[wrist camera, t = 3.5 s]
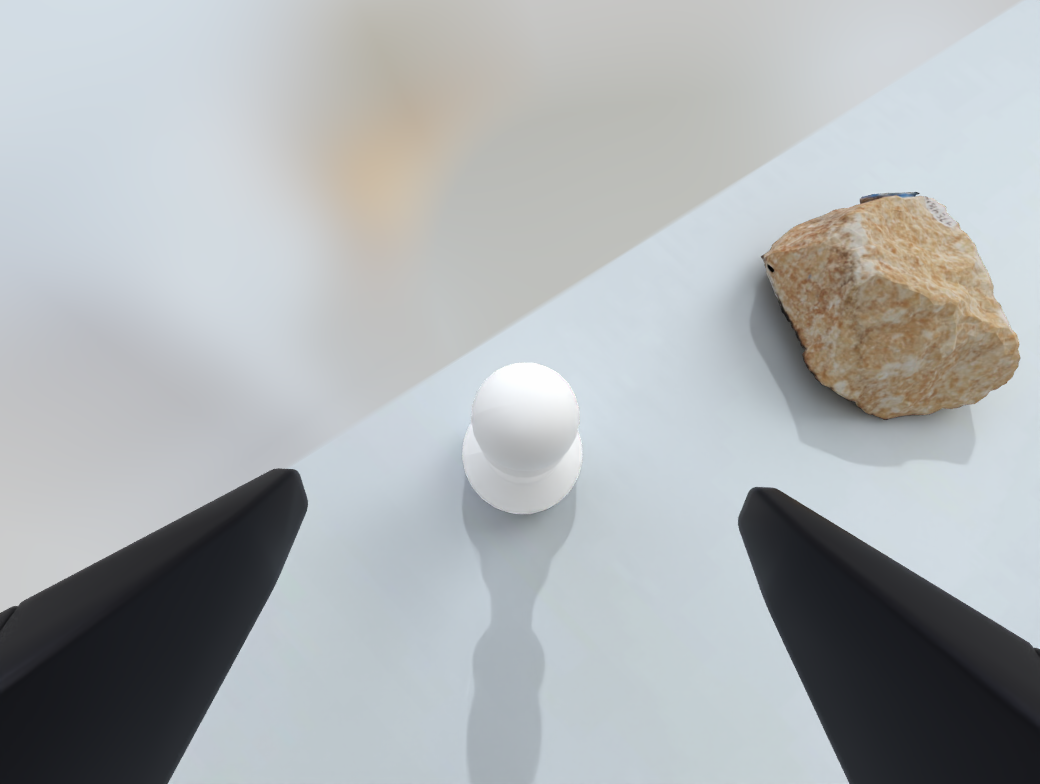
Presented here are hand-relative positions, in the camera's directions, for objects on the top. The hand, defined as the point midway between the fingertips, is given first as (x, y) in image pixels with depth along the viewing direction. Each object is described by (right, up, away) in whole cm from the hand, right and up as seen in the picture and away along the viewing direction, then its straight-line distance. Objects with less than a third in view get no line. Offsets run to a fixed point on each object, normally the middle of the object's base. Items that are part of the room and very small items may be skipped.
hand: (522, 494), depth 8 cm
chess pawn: (0, -1, +10) cm, 10 cm away
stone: (+17, +5, +12) cm, 21 cm away
